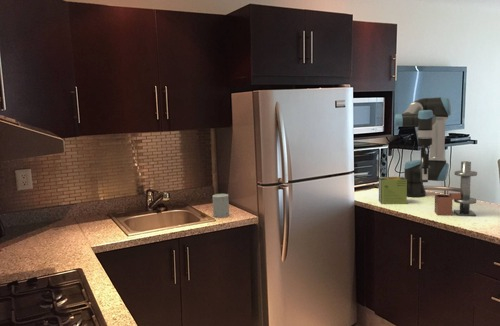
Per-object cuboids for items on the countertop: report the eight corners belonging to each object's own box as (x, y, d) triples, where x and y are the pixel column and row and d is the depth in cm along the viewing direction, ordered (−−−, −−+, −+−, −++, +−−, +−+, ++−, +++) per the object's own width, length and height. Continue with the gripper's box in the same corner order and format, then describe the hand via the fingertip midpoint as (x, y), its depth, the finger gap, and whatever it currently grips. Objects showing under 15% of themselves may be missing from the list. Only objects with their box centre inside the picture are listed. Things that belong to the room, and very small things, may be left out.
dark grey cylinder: (419, 181, 244) (420, 156, 242) (427, 181, 243) (427, 156, 241) (420, 182, 240) (421, 157, 238) (428, 182, 239) (429, 157, 237)
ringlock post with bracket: (433, 211, 243) (434, 160, 239) (472, 211, 239) (474, 160, 235) (438, 216, 232) (439, 163, 229) (478, 216, 228) (480, 163, 224)
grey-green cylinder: (216, 218, 246) (215, 197, 244) (211, 215, 254) (210, 194, 253) (231, 216, 249) (230, 195, 248) (226, 212, 258) (225, 193, 256)
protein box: (407, 204, 262) (407, 179, 260) (381, 204, 264) (381, 179, 262) (403, 200, 272) (403, 176, 270) (378, 200, 274) (378, 176, 272)
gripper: (415, 136, 247) (415, 176, 250) (420, 139, 231) (419, 181, 234) (429, 136, 245) (428, 176, 248) (435, 138, 229) (434, 181, 232)
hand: (424, 178), depth 241 cm, fingers closed on dark grey cylinder, 4 cm apart
